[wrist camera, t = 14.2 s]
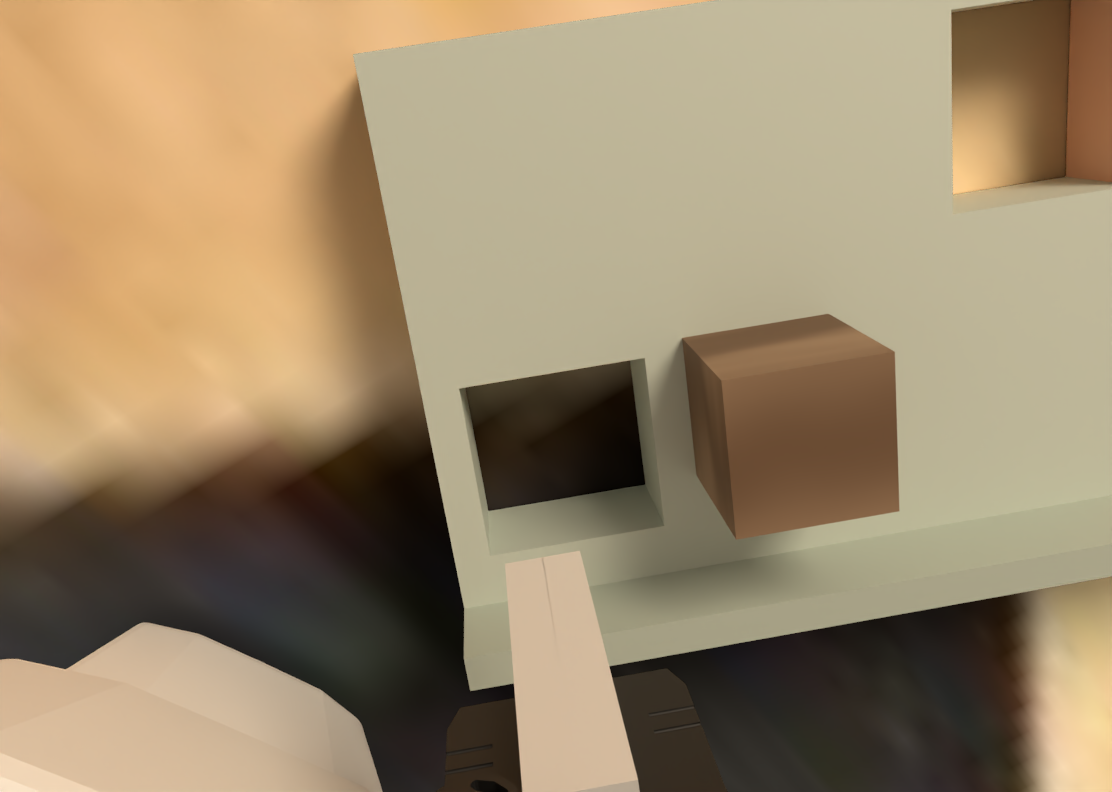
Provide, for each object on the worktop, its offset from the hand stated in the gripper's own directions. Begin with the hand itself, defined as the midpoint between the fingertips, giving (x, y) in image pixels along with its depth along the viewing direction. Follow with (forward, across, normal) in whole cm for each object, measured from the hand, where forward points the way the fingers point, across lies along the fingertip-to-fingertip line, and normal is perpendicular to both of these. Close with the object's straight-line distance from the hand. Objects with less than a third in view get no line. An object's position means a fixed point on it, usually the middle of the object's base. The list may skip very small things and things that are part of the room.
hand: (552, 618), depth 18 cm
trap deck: (+10, +11, +4) cm, 15 cm away
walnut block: (+7, +7, +1) cm, 10 cm away
